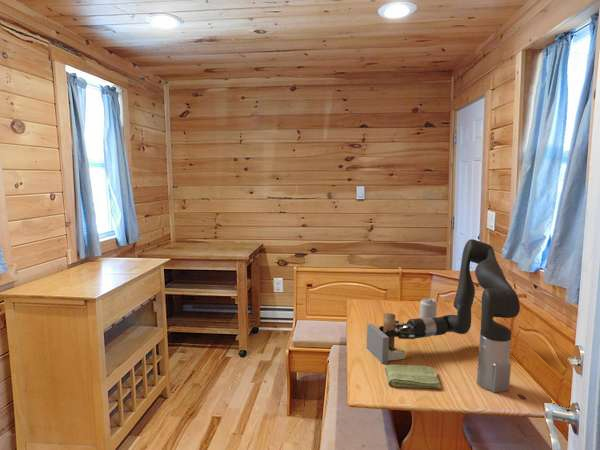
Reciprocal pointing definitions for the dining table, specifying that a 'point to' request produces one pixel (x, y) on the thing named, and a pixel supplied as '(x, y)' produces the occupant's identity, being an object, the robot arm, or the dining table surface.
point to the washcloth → (412, 376)
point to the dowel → (389, 327)
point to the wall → (377, 343)
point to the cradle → (396, 355)
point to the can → (428, 308)
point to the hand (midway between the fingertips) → (382, 331)
